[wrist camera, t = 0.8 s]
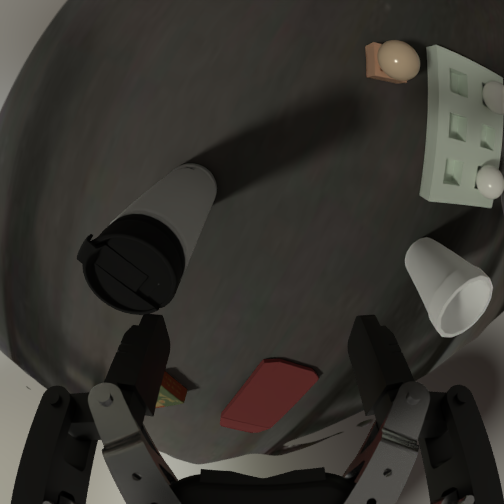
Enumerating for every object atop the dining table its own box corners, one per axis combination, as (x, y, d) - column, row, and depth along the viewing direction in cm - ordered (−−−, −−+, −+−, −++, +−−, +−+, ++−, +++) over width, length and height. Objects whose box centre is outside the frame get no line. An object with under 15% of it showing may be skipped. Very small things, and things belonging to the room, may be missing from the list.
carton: (114, 379, 53) (109, 393, 49) (162, 366, 49) (157, 383, 46) (138, 398, 56) (134, 412, 53) (188, 388, 53) (185, 404, 49)
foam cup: (393, 286, 39) (429, 345, 28) (397, 233, 35) (445, 287, 23) (440, 274, 38) (481, 324, 27) (447, 223, 34) (500, 268, 22)
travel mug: (186, 150, 30) (100, 208, 12) (228, 186, 32) (196, 286, 15) (155, 188, 32) (63, 278, 15) (194, 221, 34) (141, 338, 17)
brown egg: (369, 40, 21) (387, 31, 17) (405, 49, 21) (427, 43, 17) (370, 77, 24) (389, 73, 19) (407, 85, 23) (429, 84, 19)
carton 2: (265, 340, 50) (213, 411, 57) (268, 358, 45) (212, 427, 52) (316, 357, 52) (258, 422, 60) (323, 374, 48) (260, 437, 55)
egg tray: (426, 47, 22) (436, 44, 20) (492, 77, 22) (502, 77, 20) (419, 195, 32) (428, 201, 30) (482, 202, 32) (491, 208, 30)
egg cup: (365, 46, 23) (373, 42, 21) (396, 53, 23) (405, 50, 21) (366, 77, 25) (374, 75, 23) (397, 83, 25) (406, 82, 23)
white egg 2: (472, 158, 27) (494, 167, 23) (491, 164, 27) (512, 173, 23) (467, 191, 29) (488, 202, 25) (486, 194, 29) (506, 205, 25)
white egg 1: (475, 76, 21) (498, 76, 17) (495, 86, 21) (517, 88, 17) (476, 107, 23) (498, 111, 19) (495, 115, 23) (517, 120, 19)
